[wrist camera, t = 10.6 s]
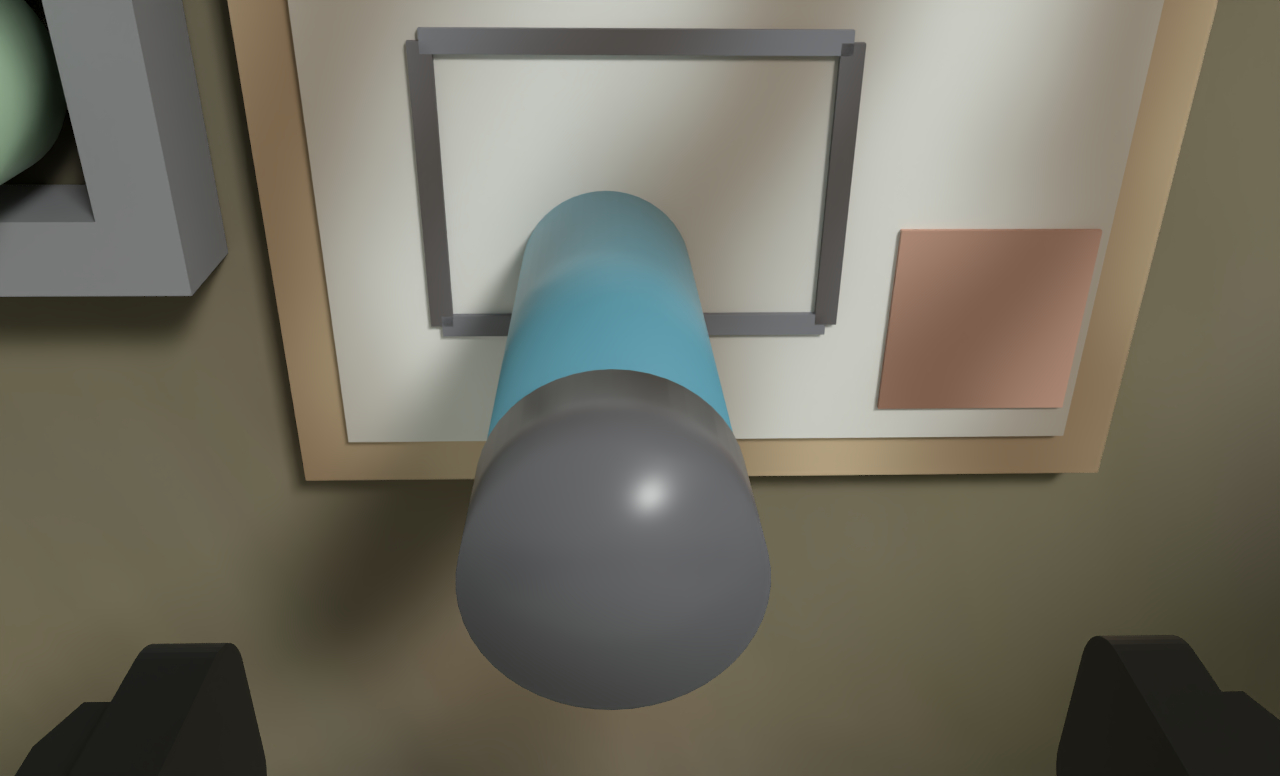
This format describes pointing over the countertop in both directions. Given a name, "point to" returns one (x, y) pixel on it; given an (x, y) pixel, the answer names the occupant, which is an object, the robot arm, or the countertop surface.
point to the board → (726, 210)
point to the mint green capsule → (27, 89)
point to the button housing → (120, 164)
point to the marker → (610, 475)
